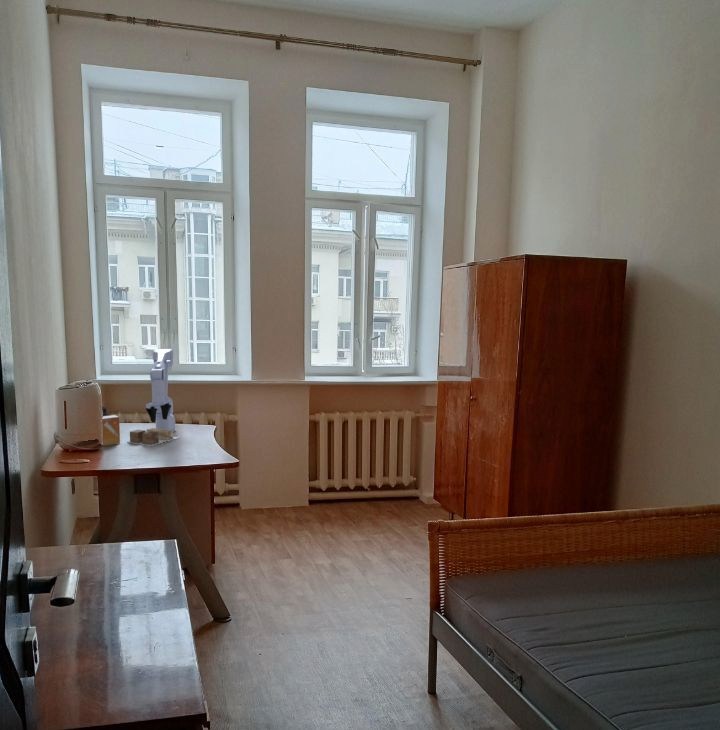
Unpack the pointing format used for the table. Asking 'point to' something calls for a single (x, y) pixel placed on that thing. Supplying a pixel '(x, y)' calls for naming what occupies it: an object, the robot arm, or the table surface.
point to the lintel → (162, 433)
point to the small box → (111, 430)
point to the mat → (155, 443)
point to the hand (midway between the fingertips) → (159, 420)
